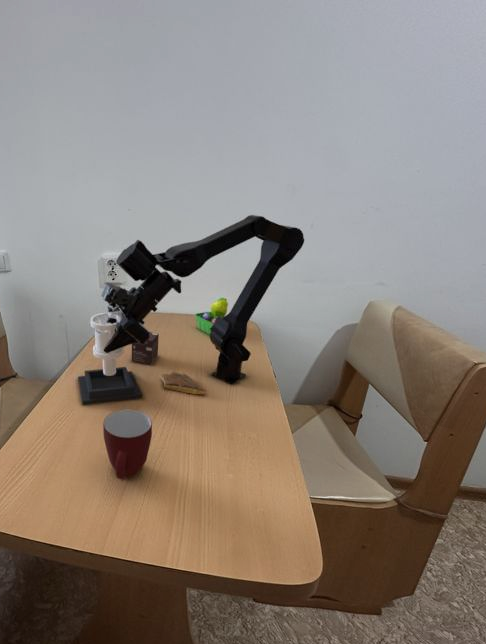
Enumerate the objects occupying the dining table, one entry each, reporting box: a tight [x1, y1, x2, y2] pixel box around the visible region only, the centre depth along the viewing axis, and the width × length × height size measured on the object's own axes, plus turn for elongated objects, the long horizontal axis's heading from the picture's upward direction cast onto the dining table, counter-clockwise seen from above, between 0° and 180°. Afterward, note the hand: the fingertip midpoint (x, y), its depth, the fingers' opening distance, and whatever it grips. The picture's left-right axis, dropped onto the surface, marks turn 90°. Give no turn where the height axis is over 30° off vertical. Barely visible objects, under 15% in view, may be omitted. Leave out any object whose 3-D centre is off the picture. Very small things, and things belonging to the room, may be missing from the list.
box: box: [131, 331, 160, 365], centre depth 105 cm, size 6×6×7 cm
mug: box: [102, 408, 153, 480], centre depth 62 cm, size 11×8×10 cm
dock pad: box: [77, 366, 143, 406], centre depth 91 cm, size 14×12×3 cm
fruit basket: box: [194, 297, 229, 336], centre depth 123 cm, size 11×9×11 cm
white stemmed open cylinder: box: [89, 311, 125, 376], centre depth 85 cm, size 7×7×15 cm
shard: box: [159, 371, 207, 395], centre depth 91 cm, size 11×8×2 cm
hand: (102, 345), depth 85 cm, fingers closed on white stemmed open cylinder, 7 cm apart
